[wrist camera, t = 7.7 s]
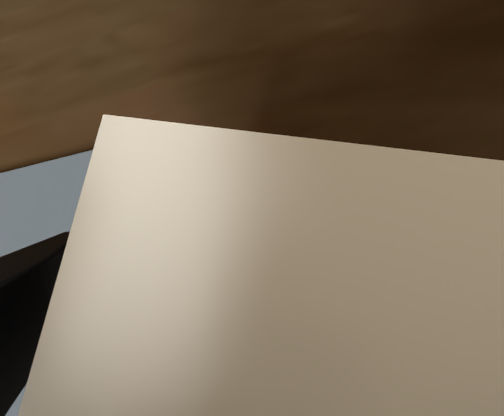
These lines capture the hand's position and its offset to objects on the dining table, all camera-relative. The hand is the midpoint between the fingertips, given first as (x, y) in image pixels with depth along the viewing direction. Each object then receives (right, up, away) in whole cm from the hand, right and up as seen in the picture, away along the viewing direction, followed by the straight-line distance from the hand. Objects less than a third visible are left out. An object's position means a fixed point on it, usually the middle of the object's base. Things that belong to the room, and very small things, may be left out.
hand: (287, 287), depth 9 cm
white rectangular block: (+1, -3, +7) cm, 8 cm away
